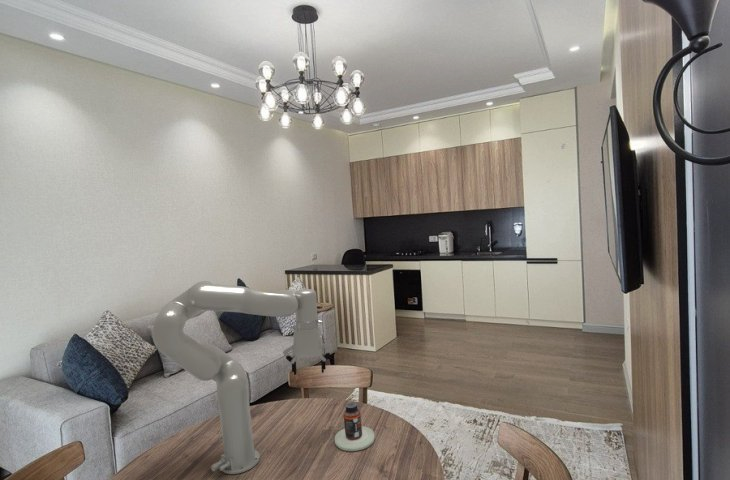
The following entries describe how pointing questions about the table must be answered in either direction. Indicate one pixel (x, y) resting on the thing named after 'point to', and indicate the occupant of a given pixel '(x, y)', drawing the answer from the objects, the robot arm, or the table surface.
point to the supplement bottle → (352, 422)
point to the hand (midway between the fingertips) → (309, 372)
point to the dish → (356, 444)
